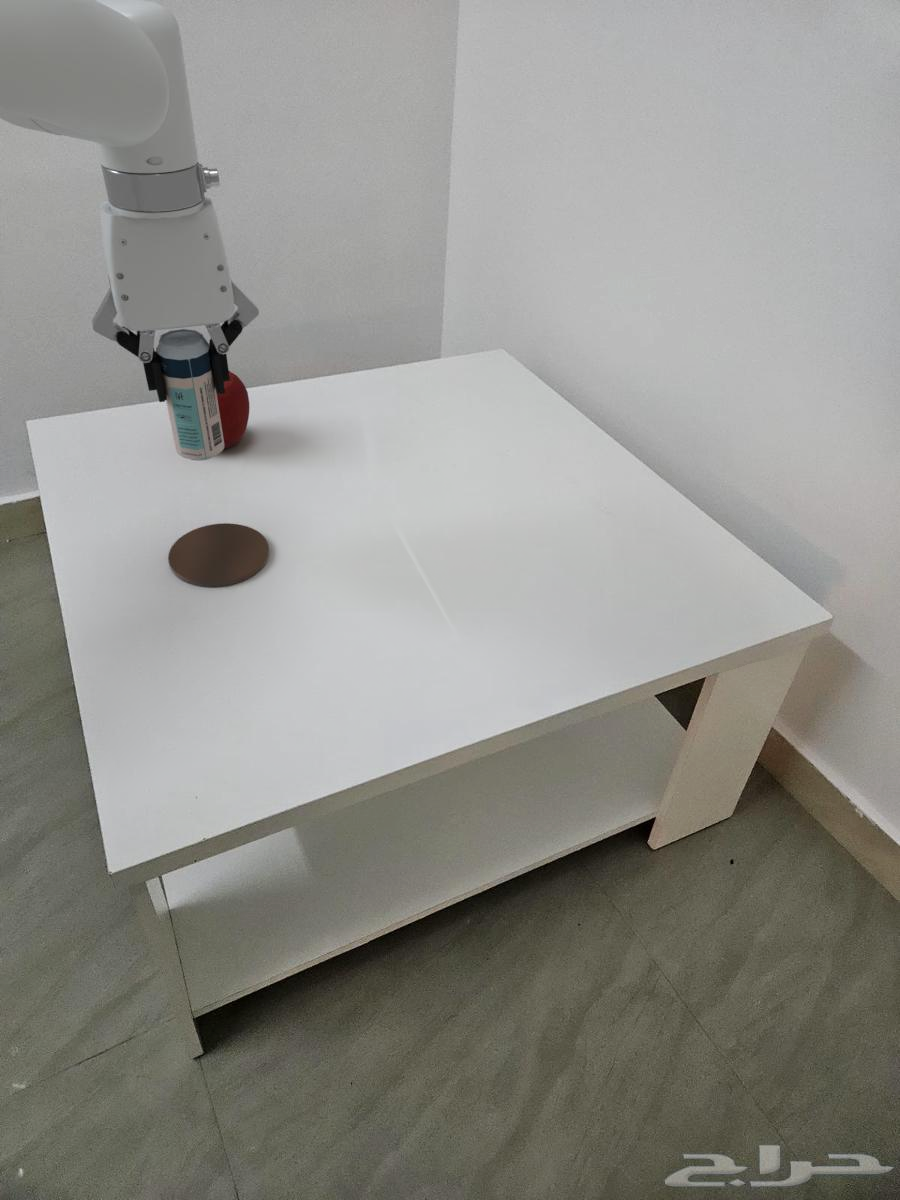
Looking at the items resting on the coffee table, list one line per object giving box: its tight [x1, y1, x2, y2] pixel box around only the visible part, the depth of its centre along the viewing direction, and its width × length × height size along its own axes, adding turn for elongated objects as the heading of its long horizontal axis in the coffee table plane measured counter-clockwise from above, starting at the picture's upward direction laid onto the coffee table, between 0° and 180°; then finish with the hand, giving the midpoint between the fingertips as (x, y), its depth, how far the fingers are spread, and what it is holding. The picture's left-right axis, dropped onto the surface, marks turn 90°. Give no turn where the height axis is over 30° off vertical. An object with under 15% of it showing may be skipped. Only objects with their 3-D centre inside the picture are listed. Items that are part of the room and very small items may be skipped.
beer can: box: [155, 328, 225, 461], centre depth 79 cm, size 5×5×12 cm
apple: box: [216, 370, 250, 449], centre depth 107 cm, size 10×10×10 cm
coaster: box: [167, 522, 270, 588], centre depth 92 cm, size 11×11×1 cm
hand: (190, 390), depth 79 cm, fingers closed on beer can, 4 cm apart
